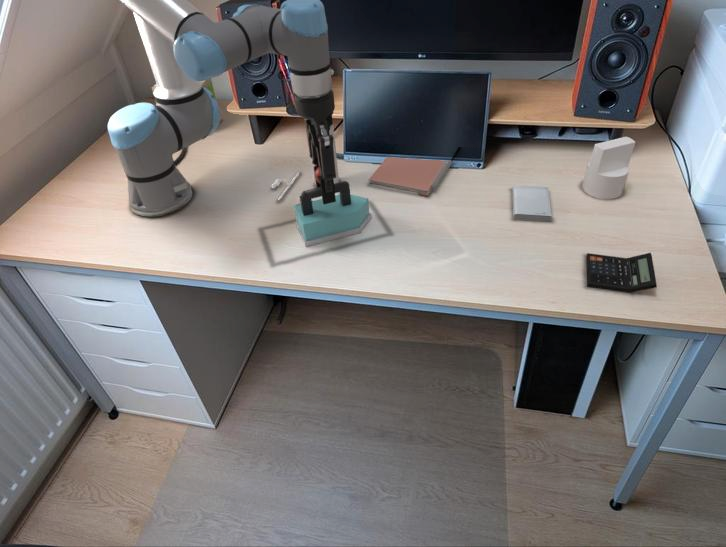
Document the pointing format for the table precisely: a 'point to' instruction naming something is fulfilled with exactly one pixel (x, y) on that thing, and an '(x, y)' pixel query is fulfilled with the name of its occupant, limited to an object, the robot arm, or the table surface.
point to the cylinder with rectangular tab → (608, 168)
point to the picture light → (277, 183)
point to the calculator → (620, 272)
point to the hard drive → (531, 203)
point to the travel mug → (329, 119)
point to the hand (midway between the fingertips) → (326, 196)
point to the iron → (330, 214)
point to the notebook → (411, 174)
